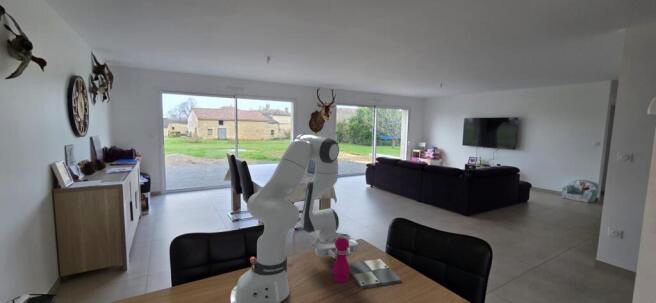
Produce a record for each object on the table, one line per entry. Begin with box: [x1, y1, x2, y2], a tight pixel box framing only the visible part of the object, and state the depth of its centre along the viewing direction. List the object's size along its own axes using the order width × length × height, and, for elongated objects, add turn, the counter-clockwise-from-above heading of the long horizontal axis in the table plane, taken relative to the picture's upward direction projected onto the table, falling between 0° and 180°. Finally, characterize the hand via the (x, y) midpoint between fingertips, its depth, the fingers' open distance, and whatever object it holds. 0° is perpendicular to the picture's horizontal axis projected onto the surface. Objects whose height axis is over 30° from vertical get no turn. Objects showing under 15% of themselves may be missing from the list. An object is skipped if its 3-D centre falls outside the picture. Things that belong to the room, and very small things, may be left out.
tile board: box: [348, 258, 402, 290], centre depth 124 cm, size 19×19×1 cm
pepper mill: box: [332, 233, 350, 284], centre depth 118 cm, size 7×7×20 cm
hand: (342, 255), depth 118 cm, fingers closed on pepper mill, 5 cm apart
